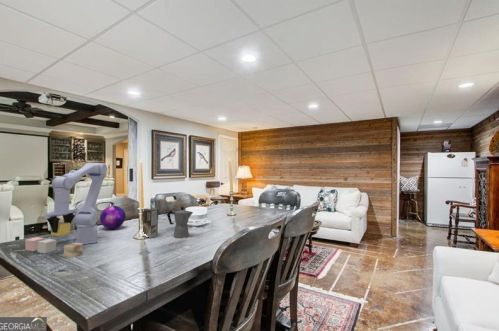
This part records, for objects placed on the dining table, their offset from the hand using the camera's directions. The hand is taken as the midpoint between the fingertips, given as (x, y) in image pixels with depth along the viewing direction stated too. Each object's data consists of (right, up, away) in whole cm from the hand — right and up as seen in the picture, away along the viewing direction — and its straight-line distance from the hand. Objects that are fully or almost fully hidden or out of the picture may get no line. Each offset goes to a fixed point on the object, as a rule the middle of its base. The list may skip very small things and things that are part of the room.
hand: (60, 231), depth 118 cm
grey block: (-8, -10, +2) cm, 13 cm away
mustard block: (0, -1, 0) cm, 1 cm away
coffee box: (+28, -12, +33) cm, 45 cm away
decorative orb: (-2, -11, +48) cm, 49 cm away
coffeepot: (+46, -13, +35) cm, 59 cm away
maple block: (+8, -11, -2) cm, 13 cm away
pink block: (-16, -10, +4) cm, 19 cm away
